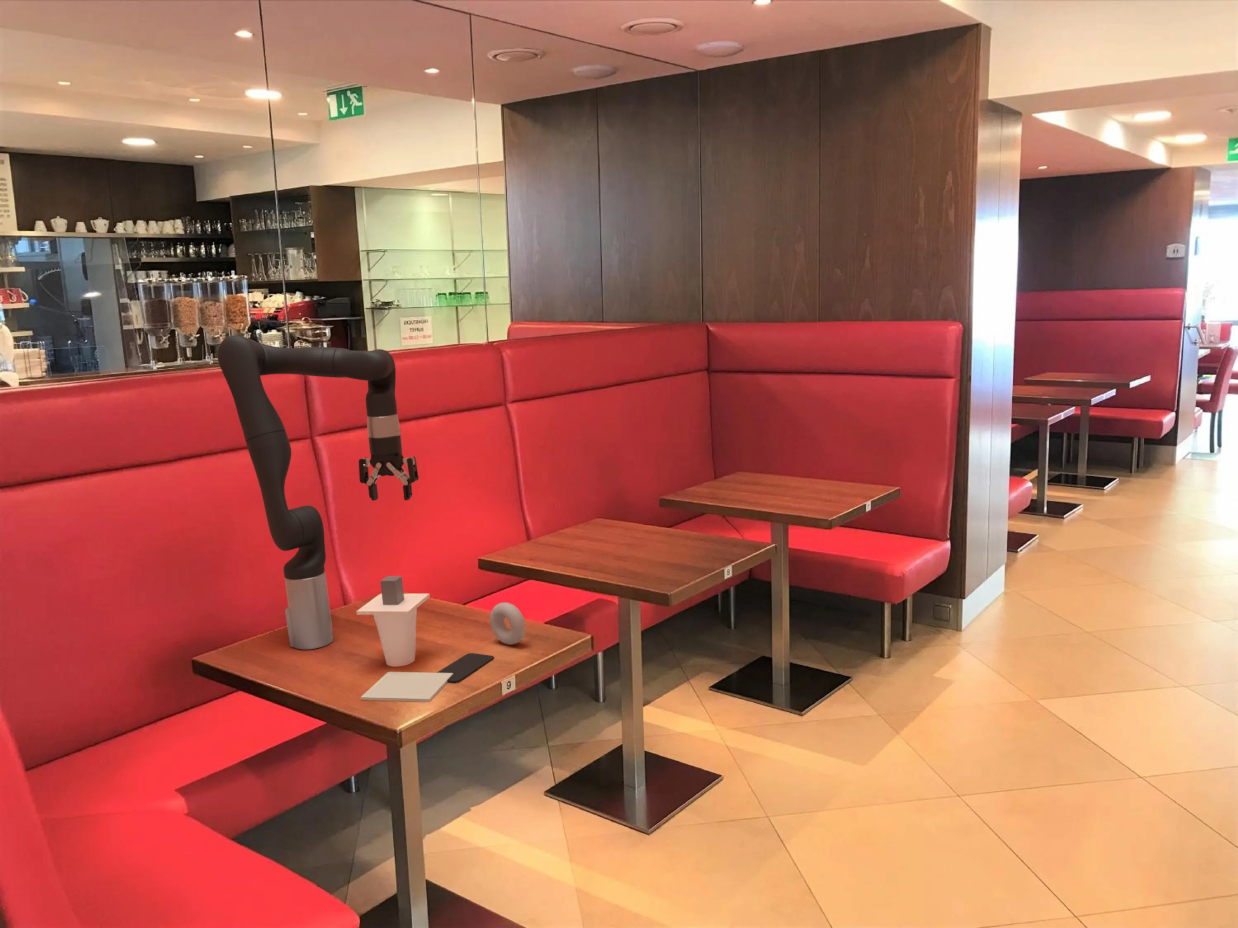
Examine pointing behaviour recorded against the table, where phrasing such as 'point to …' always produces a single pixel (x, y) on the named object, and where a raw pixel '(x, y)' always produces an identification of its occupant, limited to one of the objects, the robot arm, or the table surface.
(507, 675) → the table surface
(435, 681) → the mat
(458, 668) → the phone
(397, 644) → the foam cup
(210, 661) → the table surface
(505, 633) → the donut
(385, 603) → the lid
